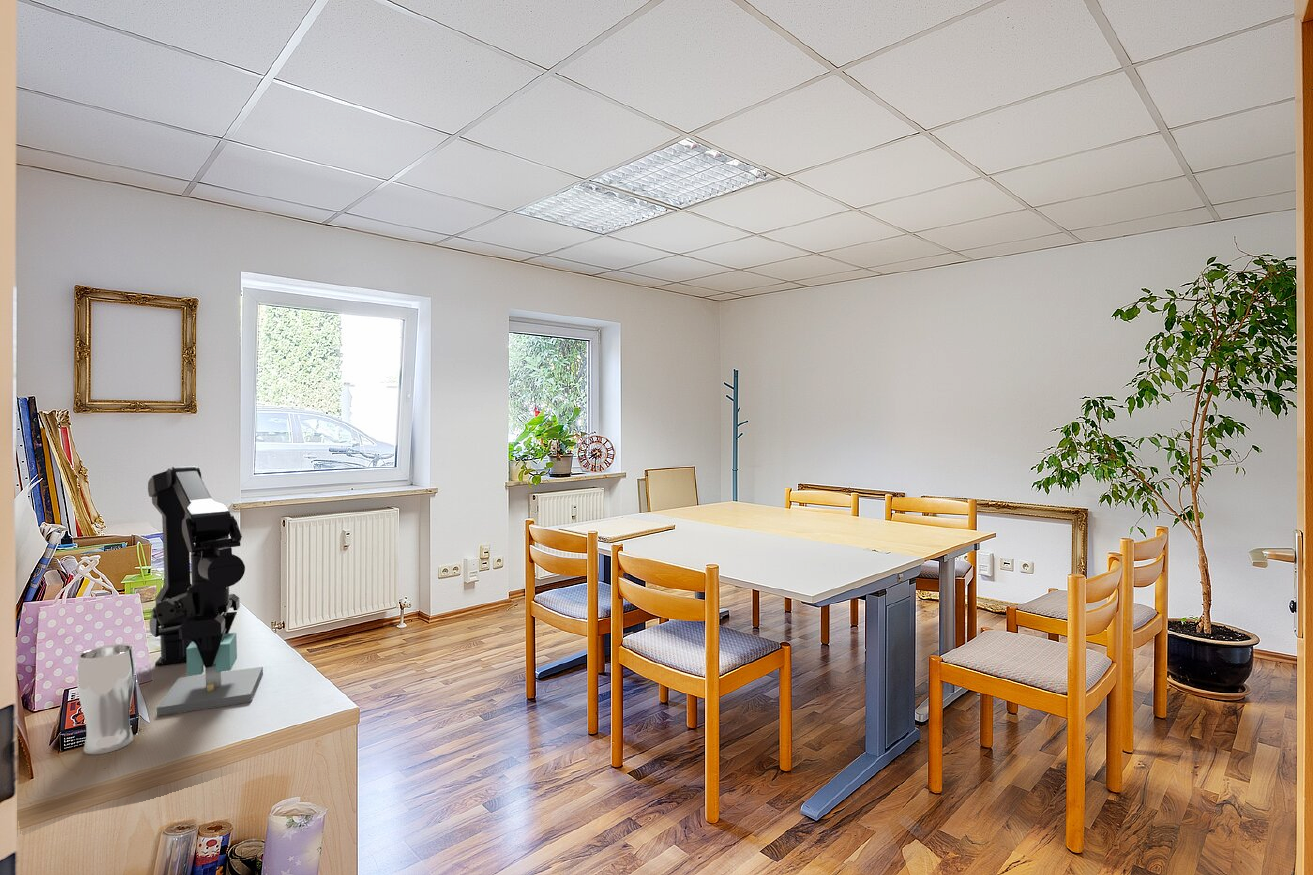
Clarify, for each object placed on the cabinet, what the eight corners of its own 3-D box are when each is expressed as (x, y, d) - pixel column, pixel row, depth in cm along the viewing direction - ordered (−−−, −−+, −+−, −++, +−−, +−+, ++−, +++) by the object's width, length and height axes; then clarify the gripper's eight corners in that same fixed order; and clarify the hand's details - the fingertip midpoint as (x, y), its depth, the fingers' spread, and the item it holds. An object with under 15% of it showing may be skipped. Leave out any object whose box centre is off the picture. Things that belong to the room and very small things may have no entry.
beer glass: (90, 760, 99) (86, 662, 99) (72, 748, 103) (68, 653, 103) (144, 741, 105) (141, 648, 105) (126, 730, 109) (123, 640, 108)
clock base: (178, 685, 127) (177, 657, 127) (262, 674, 132) (262, 646, 132) (157, 716, 114) (155, 684, 114) (251, 701, 120) (250, 671, 119)
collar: (237, 658, 127) (236, 632, 127) (230, 670, 121) (229, 643, 121) (196, 663, 125) (195, 637, 125) (187, 676, 119) (186, 648, 119)
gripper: (171, 570, 128) (174, 650, 128) (140, 595, 111) (144, 686, 111) (239, 565, 132) (241, 642, 133) (219, 588, 115) (221, 676, 116)
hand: (212, 660), depth 123 cm, fingers closed on collar, 7 cm apart
